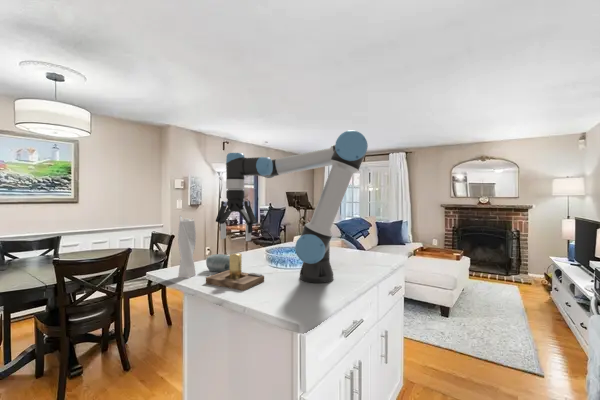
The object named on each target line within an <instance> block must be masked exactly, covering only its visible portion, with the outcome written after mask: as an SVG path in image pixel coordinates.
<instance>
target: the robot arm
mask: <svg viewBox="0 0 600 400" xmlns="http://www.w3.org/2000/svg"><path fill="white" fill-rule="evenodd" d="M368 146H369V145H368V140H367V139H366V137H365V136H364V135H363V134H362V133H361V132H360V131H358V130H354V129H353V130H352V129H351V130H346V131H344V132H342V133H341V134H340V135H339V136H338V137H337V138H336V140H335V144H332V145H331V146H330V147H329V148H323V149H319V150H313V151H309V152H304V153H299V154H294V155H289V156H284V157H280V158H276V159H275V158H274V159H272V158H271V157H266V156H260V157H259V156H258V157H245V154H244V153H242V152H229V153H226V159H225V169H226V174H225V175H226V177H225V178H226V183H225V184H226V185H225V186H226V187H225V188H226V193H225V194H226V197H225V198H226V200H222V201H220V207H219V209H218V213H217V216H216V219H215V223H218V224H219V231H220V240H223V239H227V223H226V221H227V220H228V218H229V217H230V215H231V214H232V213H233V212H234V213H236V212H237V213H239V214H240V215H241V217H242V218H243V220H244V222H245V223H246V225H245V242H251V241H252V233H253V227H254V225H255V224H257V219H256V216H255V214H254V211H253V209H252V206H251V201H249V200H245V190H244V189H245V176H246V177H247V176H255V177H256V176H258V177H262V178H263V177H264V178H267V179H271V178H274V177H277V176H281V175H286V174H292V173H297V172H304V171H307V170H314V169H319V168H324V167H330V166H331V169H330V171H329V174H328V176H327V177H326V178H327V179H326V181H325V185H324V187H323V189H322V191H321V194H320V196H319V199H318V201H317V205H316V206H315V209H314V212H313V214H312V217H311V219H310V221H309V222H306V223H305V224H304V227H303V230H302V231H301V234H300V236H299V237H298V238H297V240H296V243H295V246H294V247H295V250H294V251H295V254H296V256H297V257H298V259H299V260H300V261H302V264H301V268H300V272H299V279H300V280H301V281H303V282H306V283H311V284H312V283H313V284H322V283H323V284H324V283H329V282H332V281H333V280H334V271H333V267H332V265H331V261H330V253H331V252H330V251H331V250H330V247H331V245H330V244H331V239H332V237H333V234H332V231H331V230H332V226H333V224H334V222H335V220H336V217H337V214H338V212H339V209H340V207H341V204H342V202H343V199H344V197H345V194H346V192H347V189H348V187H349V184H350V182H351V179H352V177H353V175H354V174H355V173H357V172H358V171H360V169H361V168H360V167H361V165H362V162H363V161H364V159H365V157H366V155H367V151H368Z"/></svg>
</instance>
